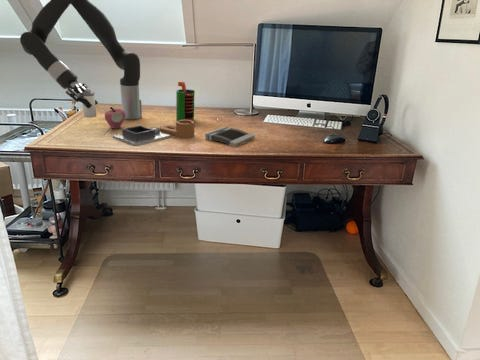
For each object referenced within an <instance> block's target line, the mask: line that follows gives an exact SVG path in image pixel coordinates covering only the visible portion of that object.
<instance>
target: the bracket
mask: <svg viewBox="0 0 480 360" xmlns="http://www.w3.org/2000/svg"><path fill="white" fill-rule="evenodd" d="M159 128H160V131H161V132H164V133H167V134H170V135H172V137H174V138H177V139H182V140H183V139H184V140H189V139H193V138H195V121H194V120H193V121H192V120H178V121H176V120H175V125H173V124H164V125H160V126H159ZM172 137H171V138H172Z"/></svg>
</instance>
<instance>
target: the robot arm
mask: <svg viewBox="0 0 480 360" xmlns="http://www.w3.org/2000/svg"><path fill="white" fill-rule="evenodd" d="M70 5H71V6H72V7H73V8H74V9H75V10H76V12H77V13H78V15H79V17H81V19H82V20H83V21H84V22H85V23H86V25H87V27H88V28H89V30H90V31H91V32H92V33H93V35H95V37H96V38H97V39H98V41H99V42H100V43H101V44H102V45H103V47H104V48H105V49H106V51H107V52H108V53H109V55H110V56H111V58H112V60H113V62H114V64H115V65H116V67H118V68H119V69H120V70H122V71H123V77H121V78H120V79H119V84H120V85H119V86H120V87H119V88H120V100H121V102H120V103H121V110H123V111H125V114H126V116H125V119H124V120H139V119H140V118H141V119H142V117H143V110H142V99H141V98H140V78H141V62H140V61H141V60H140V57H139V56H138V54H137V53H135V52H131V51H127V50H125V49H124V47H123V46H122V45H121V43H120V42H119V41H118V39H117V35H116V31H115V29H114V26H113V24H112V23H111V21H110V20H109V18H108V17H107V15H106V14H105V13H104V12H103V11H102V10H100V9H99V8H98V7H97V6H96V5H95V4H93V3H92V2H91V1H90V0H50V1H48V2H47V3H46V4H45V5H44V6H42V8H41V9H40V11H39V12H38V13H37V15H36V16H35V18H34V20H33V21H32V24H31V30H30V31H25V32H23V33H21V35H20V38H19V40H20V45H21V47H22V49H23V51H24V52H25V53H26V54H28V55H30V56H31V55H32V56H33V57H34V58H35V59H36V61H37V63H38V65H40V66H41V67H42V68H43V69H44V70H45V71H46V72H47V73H48V75H49V76H50V77H51V78H52V79H53V80H54V81H55V82H56V83H57V84H58V85H59V86H60V87H61V88H62V89H64V90H66V89H67V90H66V91H65V94H67V96H69V97H70V98H72V99H73V100H74V101H75V102H77V103H82V105H83V104H84V105H85V106H86V107H87V108H90V107H91V106H92V104H91V103H90V102H89V101H88V100H87V99H85V97H84V96H83V94H82V92H85V89H90V88H89V86H88V85H87V84H86V83H85V82H83V83H80V82H79V81H78V75H77V74H75V73H74V71H72V70H71V69H70V68H69V67H68V65H66V64H65V63H63V62H62V61H61V60H60V58H58V56H56V55H55V54H54V53H53V52H52V51H51V50H50V49H49V47H48V46H47V45H46V41H47V39H48V37H49V35H50V33H51V32H52V31H53V29H54V28H55V26H56V24H57V23H58V21H59V20H60V18H61V17H62V15H63V14H64V13H65V11H66V10H67V9H68V7H69V6H70ZM90 92H93V91H92V90H91V89H90ZM98 104H99V102H98V100H97V99H95V106H96V105H98Z"/></svg>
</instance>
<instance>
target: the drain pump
mask: <svg viewBox="0 0 480 360" xmlns="http://www.w3.org/2000/svg"><path fill="white" fill-rule="evenodd" d="M90 90H91V88H89V89H85V92H82V94H83V96H84V97H85V99H87V100H88V101H89V102H90V103H91V104H92V106H91V107H90V108H87V107H86V106H85V105H84V104H83V103H82V111H83V117H84V118H86V119H87V118H89V119H90V118H91V119H92V118H95V117H97V109H96V108H97V107H96V105H95V100H96V99H95V92H94V91H92V92H90Z"/></svg>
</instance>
